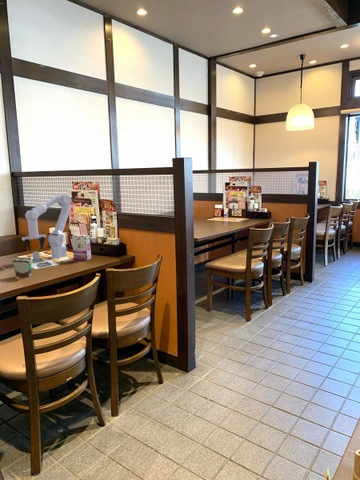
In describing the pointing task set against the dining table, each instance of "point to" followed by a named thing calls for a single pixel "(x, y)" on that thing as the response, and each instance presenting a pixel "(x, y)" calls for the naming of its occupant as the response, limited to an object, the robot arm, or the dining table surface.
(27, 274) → the food container
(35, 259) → the plug
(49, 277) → the dining table surface
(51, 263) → the panel
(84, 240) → the candy bar box
